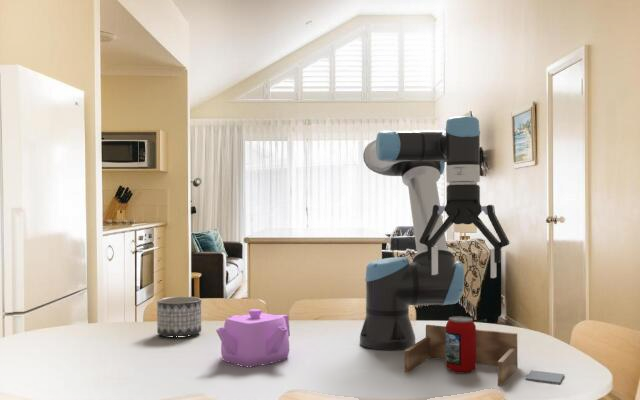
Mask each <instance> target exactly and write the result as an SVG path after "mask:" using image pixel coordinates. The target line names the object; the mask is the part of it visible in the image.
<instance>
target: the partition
mask: <svg viewBox="0 0 640 400" xmlns="http://www.w3.org/2000/svg"><path fill="white" fill-rule="evenodd" d="M403 350H404V352H403V354H404V359H403V360H404V362H403V363H404V365H403V366H404V373H406V374H409V373H411V372H412V371H413V370H415V369H417V368H418V367H419V366H420V365H422V364H423V363H425V362H426V361H427V360H429V359H435V360H442V361H443V360H445V361H446V325H444V326H443V325H436V324H435V325H433V324H426V325H425V337H424V338H421V340H419V341H417V342H415V344H414V345H412V346H411V347H409V348H407V349H403ZM477 364H478V365H485V366H495V367H497V385H498V386H504V385H505V383H506V382H507V381H508V380H509V378H511V376H512V375H513V374H514V373H515V371H516V370H517V369H518V332H507V331H498V330H487V329H477V328H476V365H477Z"/></svg>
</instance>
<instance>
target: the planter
mask: <svg viewBox="0 0 640 400" xmlns="http://www.w3.org/2000/svg"><path fill="white" fill-rule="evenodd" d="M156 302H157V303H156V311H157V312H156V315H157V317H156V319H157V321H156V322H157V324H156V325H157V329H156V330H157V331H156V333H157V334H158V335H160V336H163V337H166V336H173V337H176V336H177V337H178V336H188V335H192V336H193V335H197V334H199V333H201V331H202V298H200V297H196V296H172V297H171V296H170V297H163V298H160V299H158V300H157V301H156Z"/></svg>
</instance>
